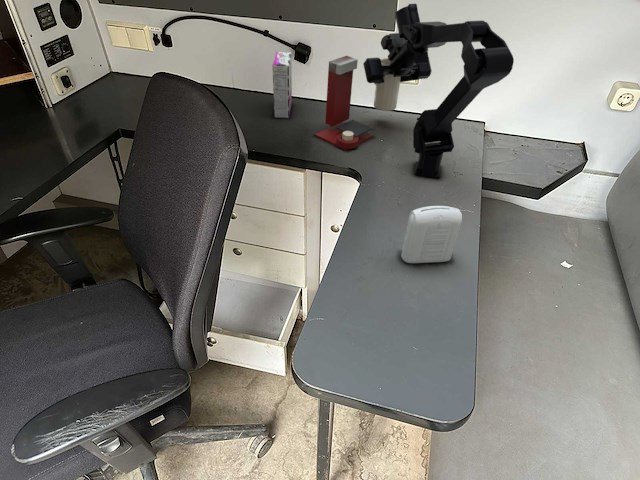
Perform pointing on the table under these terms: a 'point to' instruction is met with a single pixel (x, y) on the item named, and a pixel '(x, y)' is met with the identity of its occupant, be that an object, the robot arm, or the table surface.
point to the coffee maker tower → (342, 95)
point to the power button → (347, 136)
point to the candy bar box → (282, 84)
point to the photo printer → (431, 234)
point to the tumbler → (387, 91)
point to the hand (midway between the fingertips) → (386, 81)
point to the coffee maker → (335, 137)
